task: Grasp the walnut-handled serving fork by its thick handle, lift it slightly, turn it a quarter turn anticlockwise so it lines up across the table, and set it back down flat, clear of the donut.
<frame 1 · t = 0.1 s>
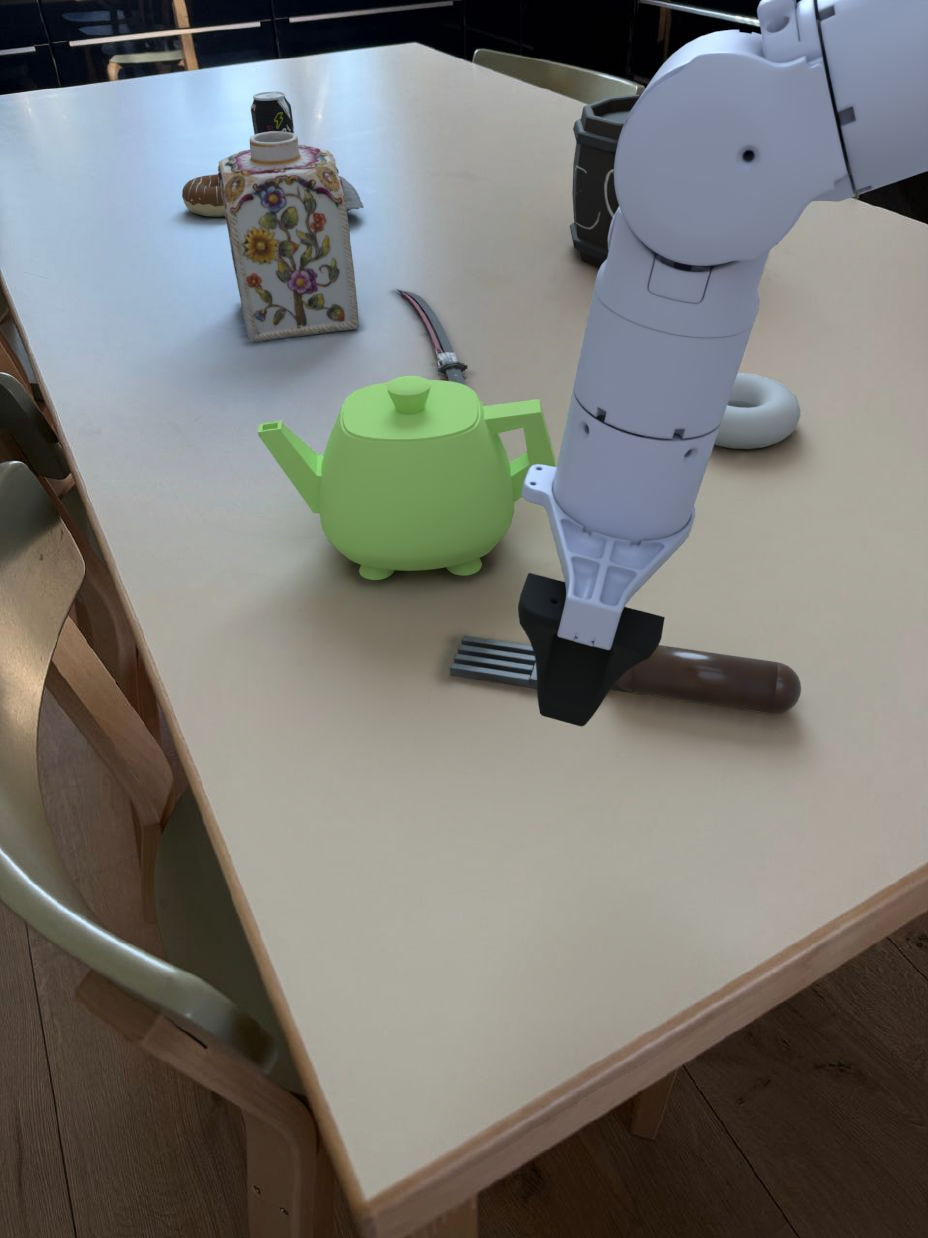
hand: (577, 659, 46), 10 cm above the table, tool pointing down, fingers open, 7 cm apart
wooden barrel: (644, 254, 118), on the table
sword: (429, 345, 99), on the table
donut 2: (224, 210, 138), on the table
seashell: (331, 217, 134), on the table
decorative jar: (298, 318, 106), on the table
fork: (550, 672, 60), on the table
teapot: (418, 544, 72), on the table
donut: (735, 429, 84), on the table
beverage can: (281, 185, 147), on the table
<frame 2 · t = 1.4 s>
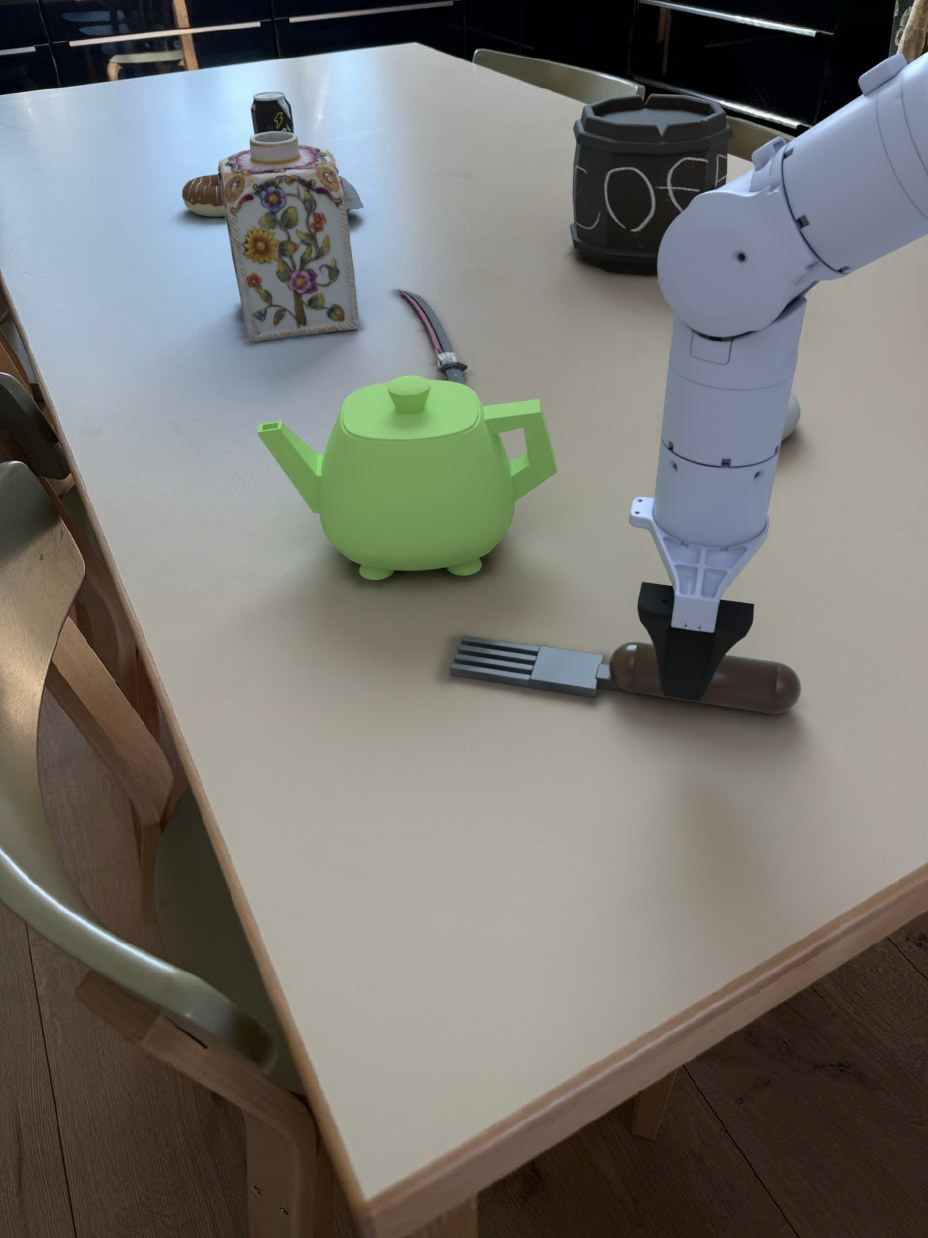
hand: (688, 649, 57), 3 cm above the table, tool pointing down, fingers open, 7 cm apart
nothing on the table moved.
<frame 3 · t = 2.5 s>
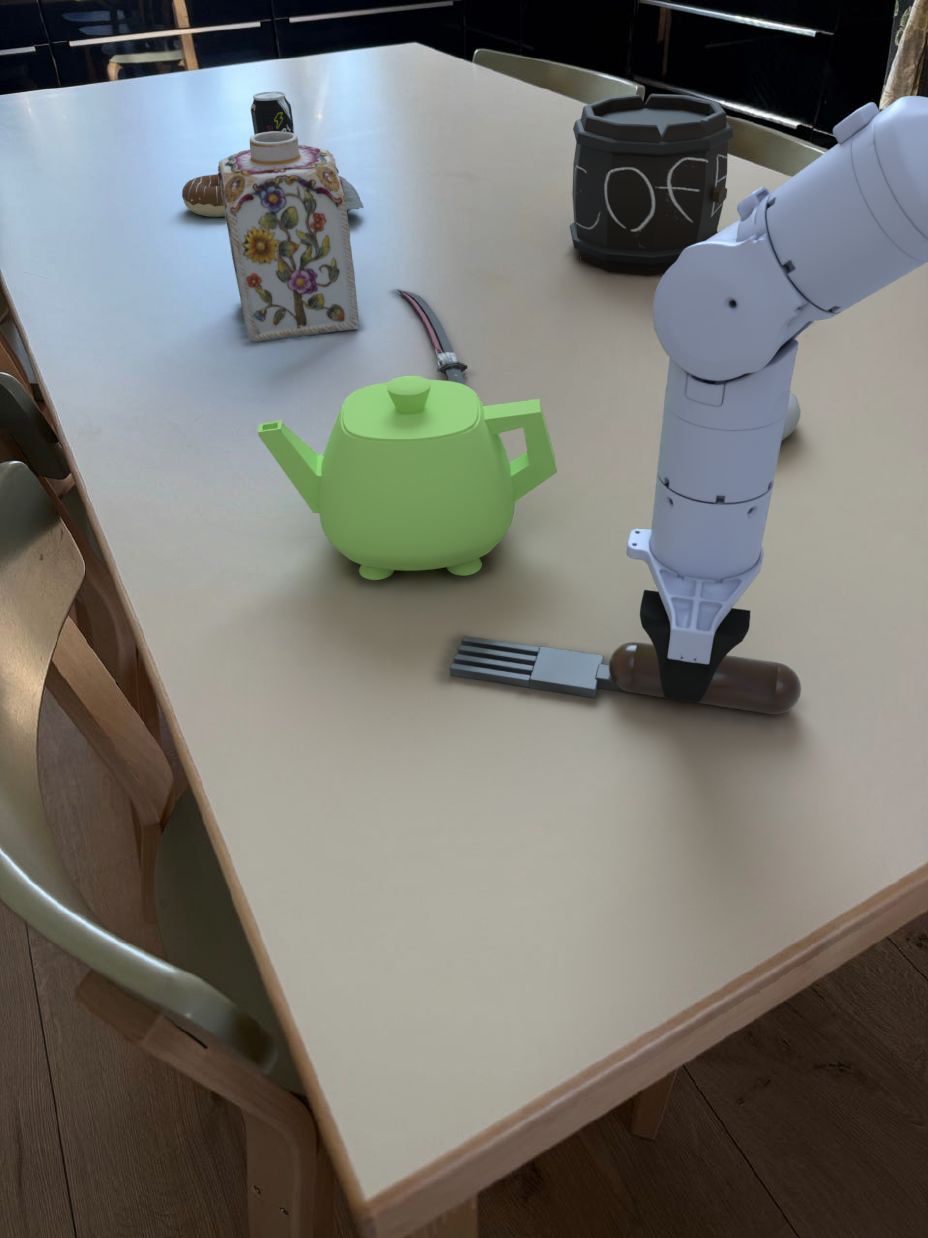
hand: (685, 675, 58), 1 cm above the table, tool pointing down, fingers closed on fork, 3 cm apart
fork: (550, 673, 60), on the table, touching gripper
everything else where it was.
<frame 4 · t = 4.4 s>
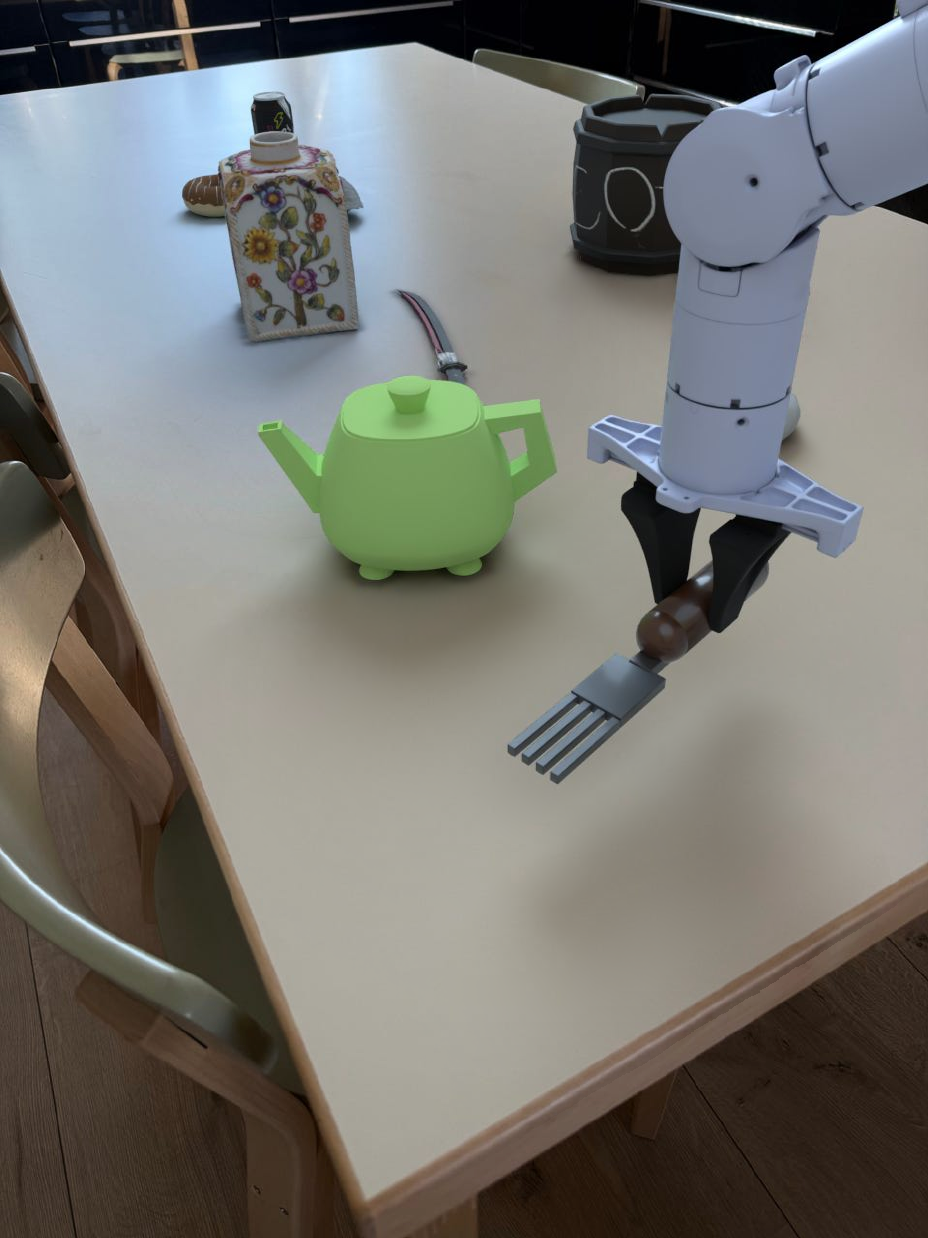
hand: (695, 609, 55), 6 cm above the table, tool pointing down, fingers closed on fork, 3 cm apart
fork: (606, 704, 51), point 5 cm above the table, touching gripper
everything else where it was.
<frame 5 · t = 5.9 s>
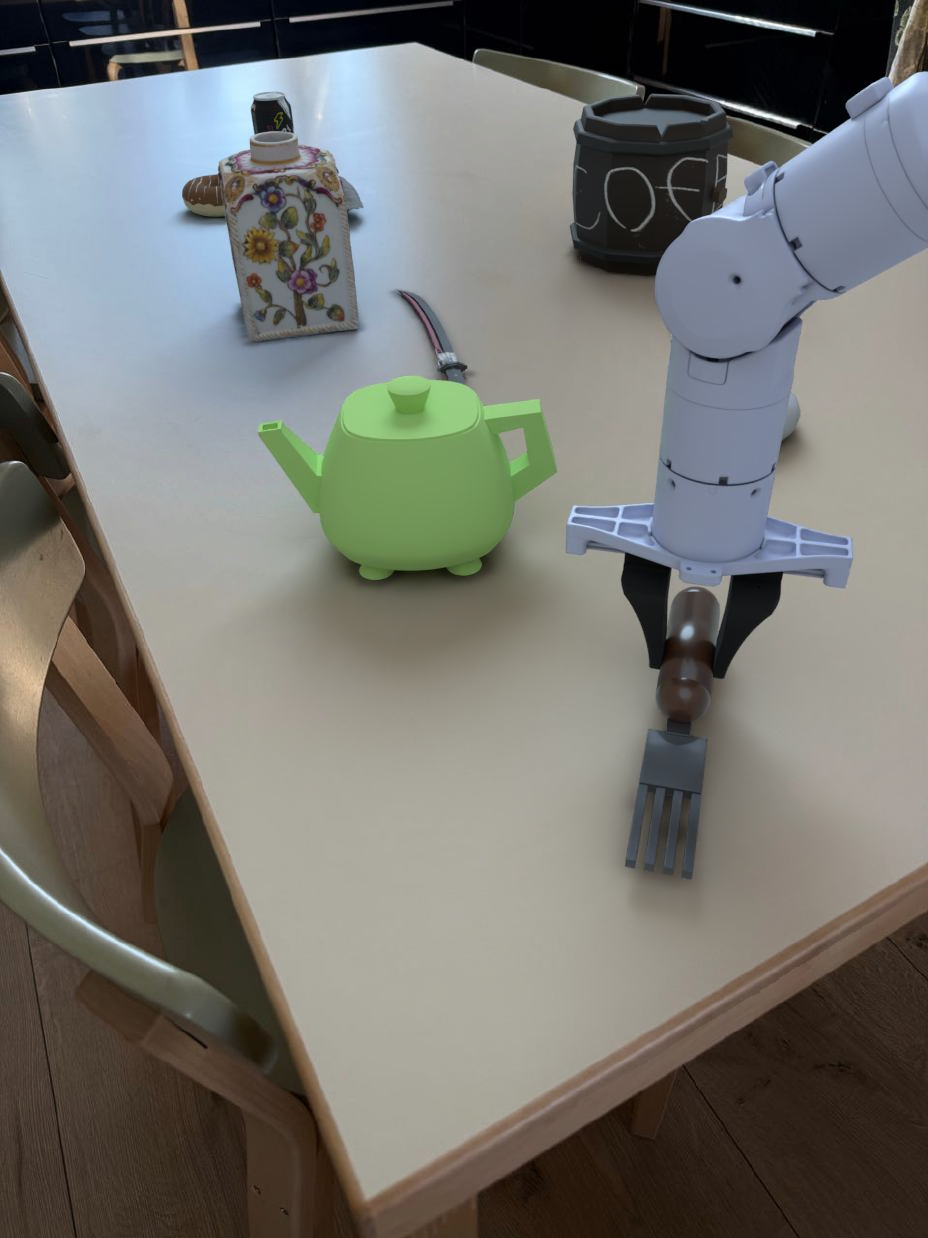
hand: (687, 662, 57), 2 cm above the table, tool pointing down, fingers closed on fork, 3 cm apart
fork: (670, 782, 52), point 1 cm above the table, touching gripper
everything else where it was.
when the fingers open (1 cm above the table, at t = 6.6 s): fork stays where it is, on the table.
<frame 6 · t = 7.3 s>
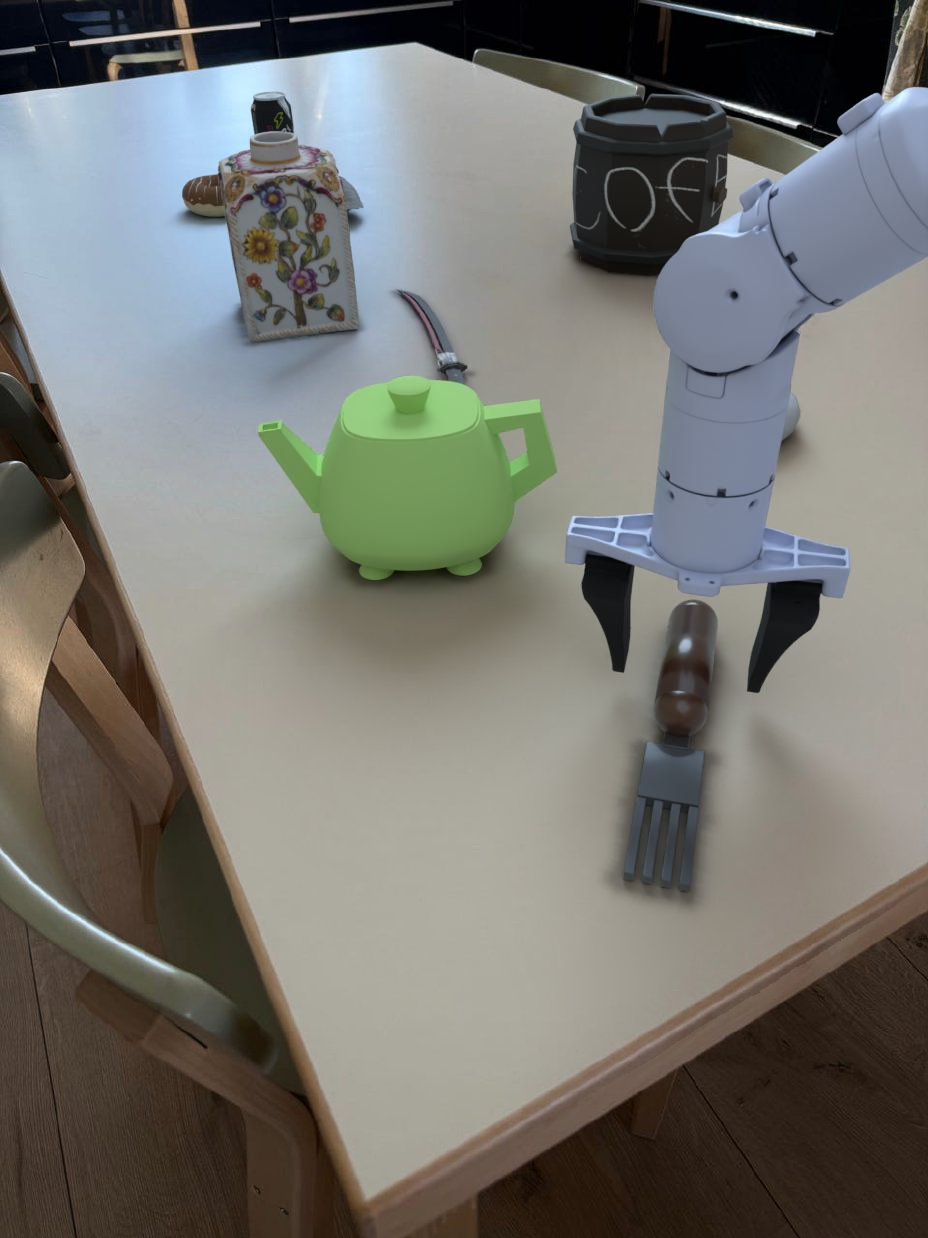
hand: (686, 671, 58), 2 cm above the table, tool pointing down, fingers open, 7 cm apart
fork: (668, 794, 53), on the table
everything else where it was.
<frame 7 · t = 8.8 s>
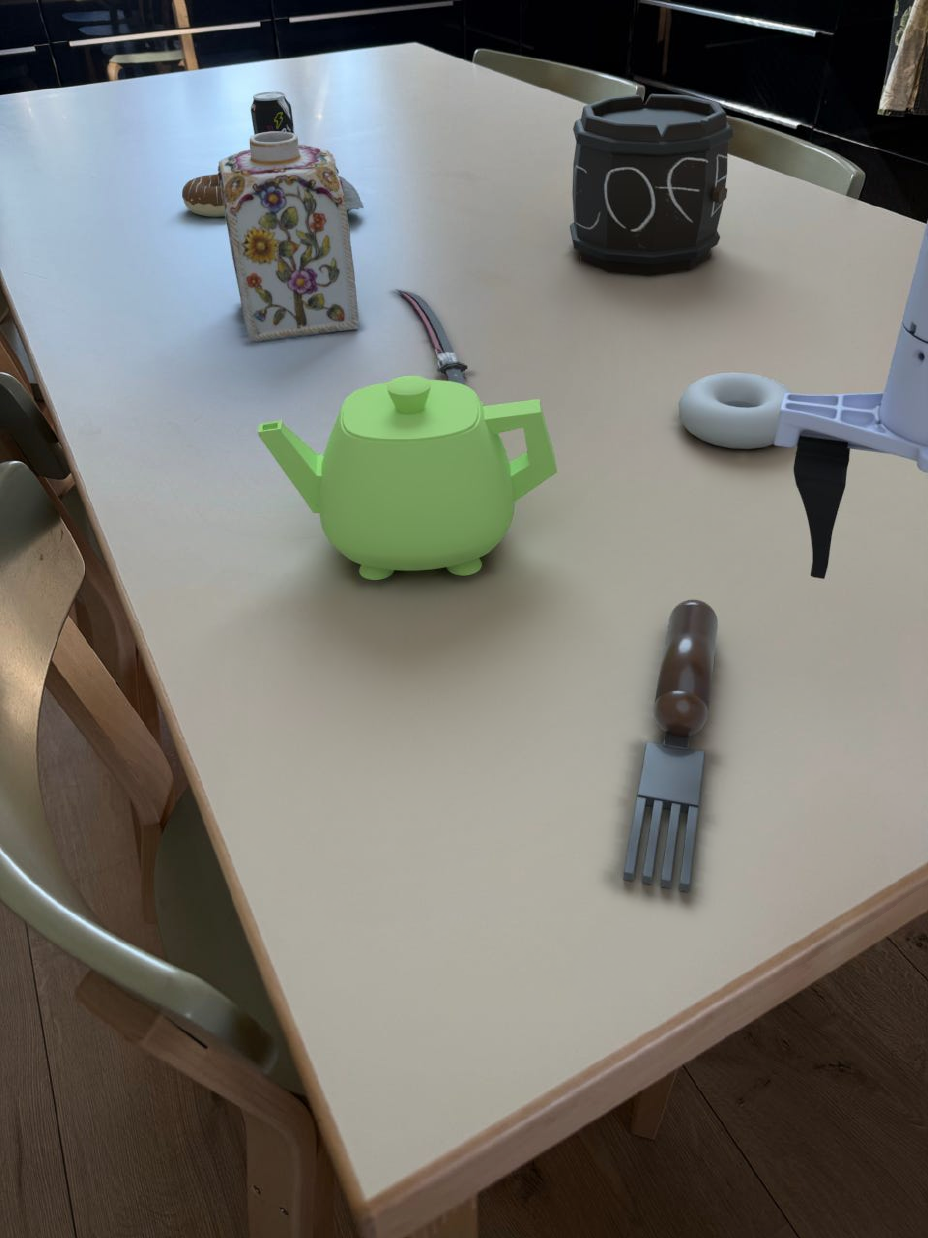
hand: (895, 580, 51), 9 cm above the table, tool pointing down, fingers open, 7 cm apart
nothing on the table moved.
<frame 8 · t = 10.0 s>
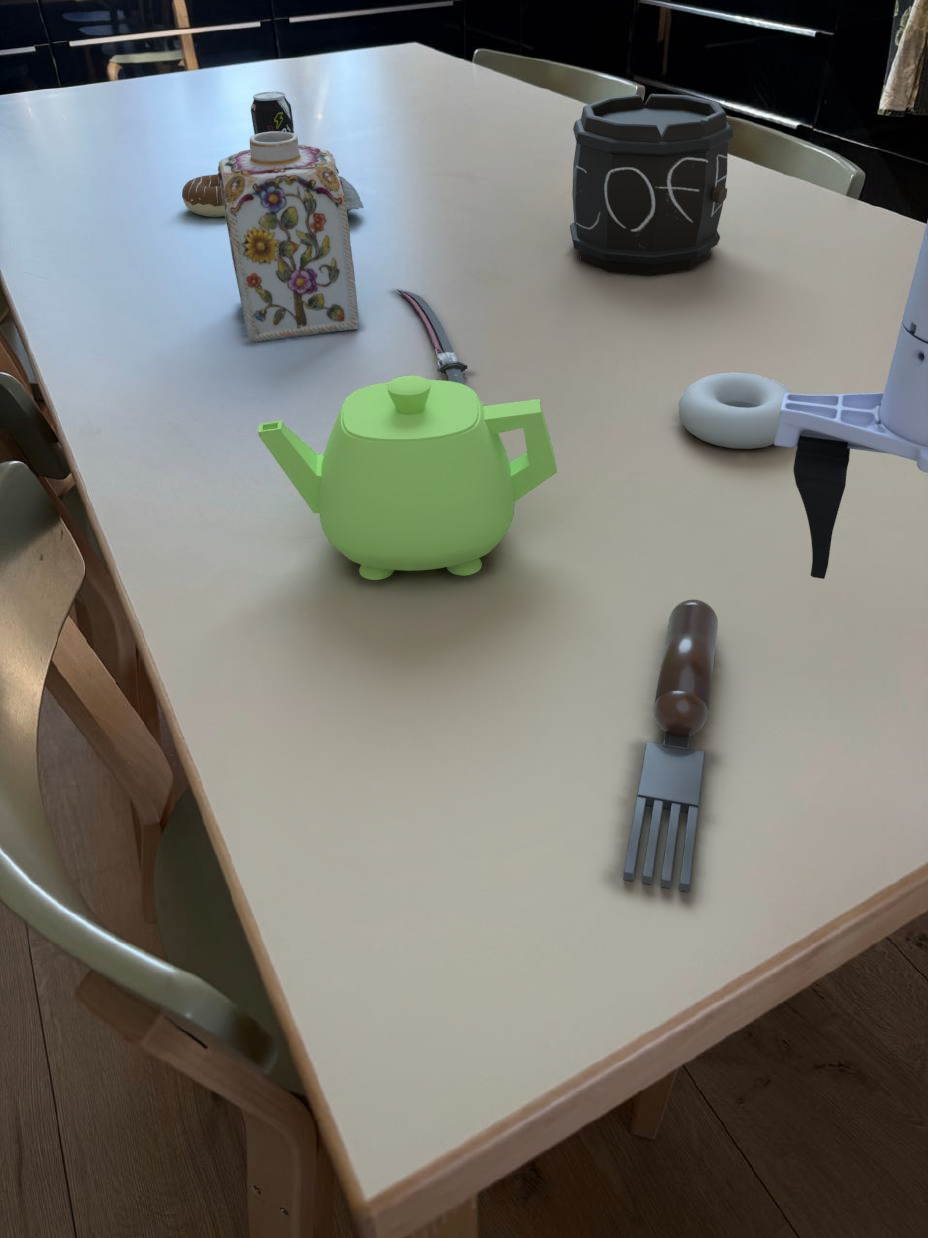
hand: (895, 580, 51), 9 cm above the table, tool pointing down, fingers open, 7 cm apart
nothing on the table moved.
at the end: fork inside the target area (0.2 cm from its centre), on the table; fork tilted 0°; fork touching table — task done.
